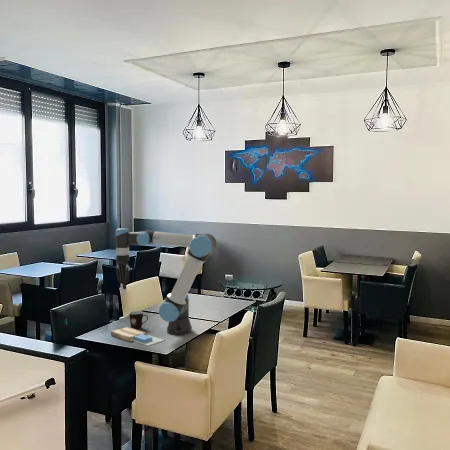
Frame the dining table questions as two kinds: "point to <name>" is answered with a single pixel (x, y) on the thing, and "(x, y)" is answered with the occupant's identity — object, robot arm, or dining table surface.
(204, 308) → the dining table surface
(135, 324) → the coffee mug
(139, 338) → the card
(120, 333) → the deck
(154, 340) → the mat
